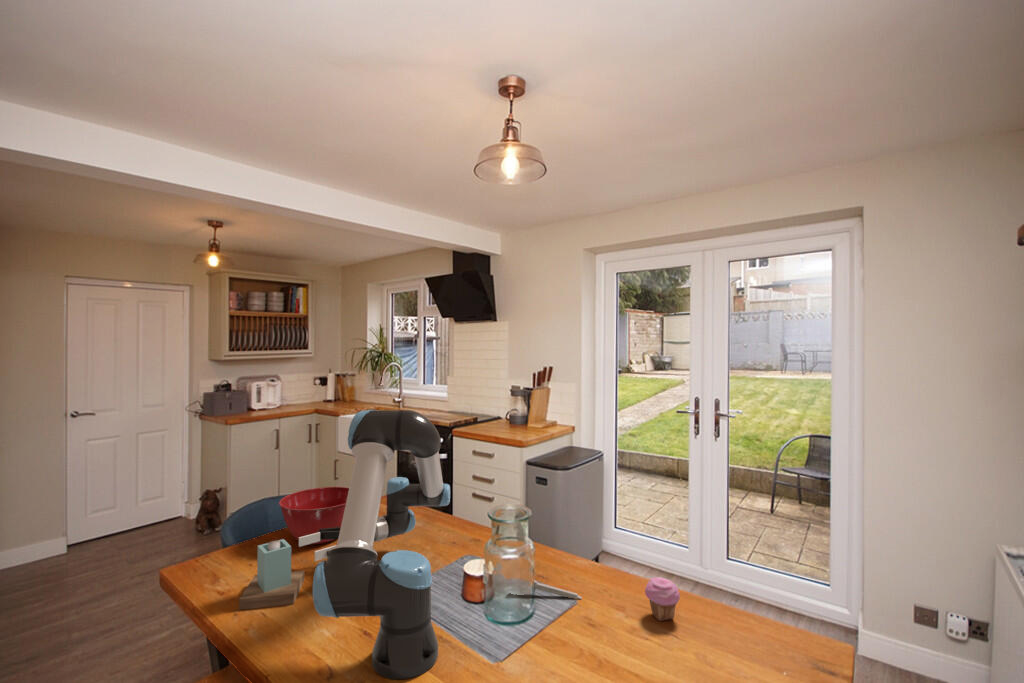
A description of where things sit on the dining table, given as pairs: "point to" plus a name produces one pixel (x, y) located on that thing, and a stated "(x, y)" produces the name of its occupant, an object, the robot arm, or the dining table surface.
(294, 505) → the mixing bowl
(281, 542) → the collar
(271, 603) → the wooden peg stand
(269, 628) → the dining table surface
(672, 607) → the cupcake
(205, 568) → the dining table surface
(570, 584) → the dining table surface
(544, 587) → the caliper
